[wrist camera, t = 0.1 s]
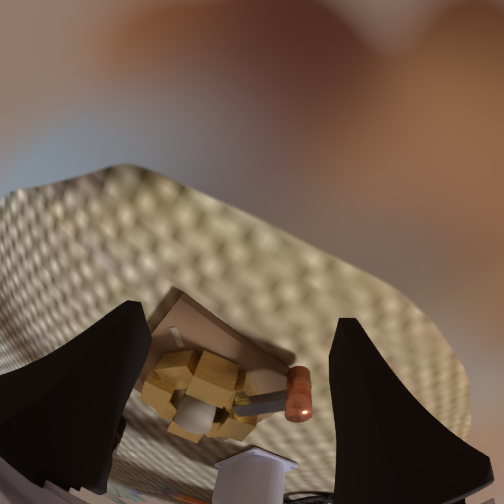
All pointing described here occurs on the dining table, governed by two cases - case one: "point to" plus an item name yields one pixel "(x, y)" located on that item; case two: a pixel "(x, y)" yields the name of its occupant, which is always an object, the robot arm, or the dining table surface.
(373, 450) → the robot arm
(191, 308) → the square socket base
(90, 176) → the dining table surface
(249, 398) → the golden gear lever
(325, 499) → the coffee maker
